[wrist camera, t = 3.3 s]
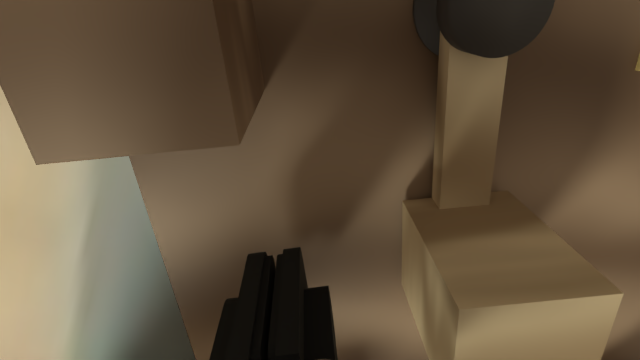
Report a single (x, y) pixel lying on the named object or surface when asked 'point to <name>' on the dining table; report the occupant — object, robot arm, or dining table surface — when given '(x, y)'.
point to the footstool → (327, 139)
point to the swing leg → (492, 217)
